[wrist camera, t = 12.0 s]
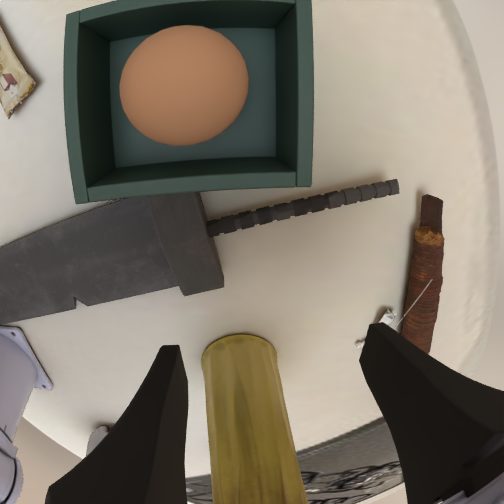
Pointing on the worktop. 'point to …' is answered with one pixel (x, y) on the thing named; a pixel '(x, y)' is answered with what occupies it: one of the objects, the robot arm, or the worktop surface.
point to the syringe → (387, 319)
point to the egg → (184, 85)
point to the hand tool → (425, 276)
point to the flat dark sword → (135, 250)
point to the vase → (249, 425)
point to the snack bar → (12, 78)
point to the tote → (206, 153)
